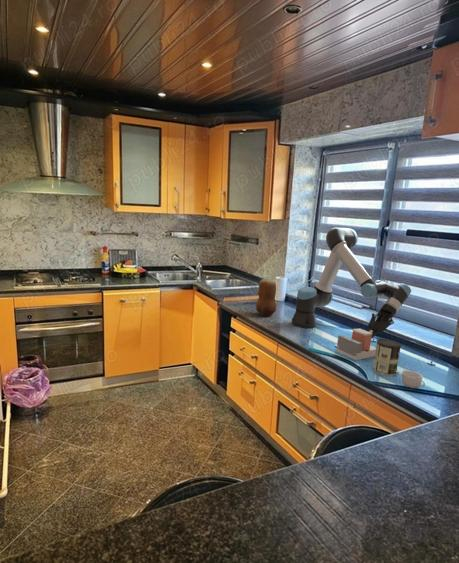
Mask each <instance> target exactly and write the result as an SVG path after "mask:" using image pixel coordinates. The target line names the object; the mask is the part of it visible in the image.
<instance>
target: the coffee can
mask: <svg viewBox="0 0 459 563" xmlns="http://www.w3.org/2000/svg"><path fill="white" fill-rule="evenodd" d="M401 347H402V344H401V343H400V342H398V341H396V340H392V339H389V338H388V339H387V338H378V339H377V340H376V347H375V348H376V353H375V356H374V362H373V366H372V368H373V369H372V370H373V372H375V373H377V374H378V375H382V376H386V377H393V376H394V377H395V376H396V375H397V371H398V367H399V365H398V364H399V358H400V353H401V352H400V351H401Z"/></svg>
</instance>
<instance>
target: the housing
mask: <svg viewBox="0 0 459 563" xmlns="http://www.w3.org/2000/svg"><path fill="white" fill-rule="evenodd" d="M336 352H337V353H339V352H340V353H339V354H342V355H344V356H347V357H348V356H349V357H348V358H350V357H351V359H353V360H355V361H357V360H358V361H359V360H363V359H369V358H373V357H374V358H375V353H376V347H375V346H373V345H370V350H365V351H362V343H361V342H359V341H356V340H354V339H352V337H349V336H346V335H344V334H340V335H338V336H337V344H336Z"/></svg>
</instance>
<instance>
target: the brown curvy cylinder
mask: <svg viewBox="0 0 459 563" xmlns="http://www.w3.org/2000/svg"><path fill="white" fill-rule="evenodd" d="M257 294H258V299H257V301H256V305H255V307H256V312H258V314H260V315H262V316H264V317H270V316H272V315H273V314H275V313H276V311H277V303H276V294H277V284H276V281H275V280H273V279H266V278H263V279H260V280H259V283H258V293H257Z"/></svg>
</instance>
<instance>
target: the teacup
mask: <svg viewBox="0 0 459 563" xmlns="http://www.w3.org/2000/svg"><path fill="white" fill-rule="evenodd" d="M422 379H423V375H422V374H421V373H419V372H417V371H413V370H408V369H406V370H402V372H401V382H402V384H403V385H404V386H405V387H406V386H407V387H406V388H409V387H410V388H409V389H417V388H423V387H425V386H426V383H425V381H424V380H422ZM422 384H423V385H422Z"/></svg>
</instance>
